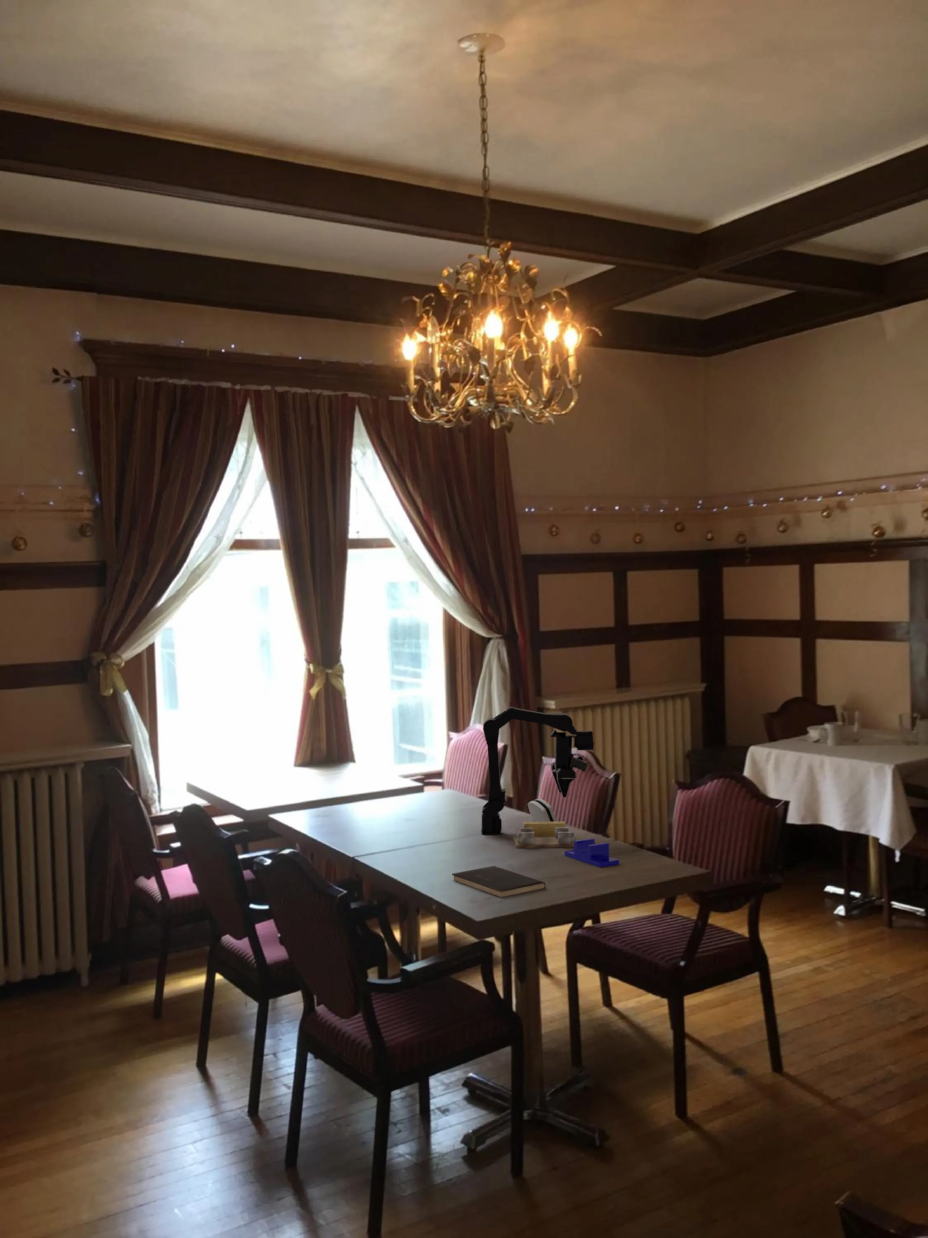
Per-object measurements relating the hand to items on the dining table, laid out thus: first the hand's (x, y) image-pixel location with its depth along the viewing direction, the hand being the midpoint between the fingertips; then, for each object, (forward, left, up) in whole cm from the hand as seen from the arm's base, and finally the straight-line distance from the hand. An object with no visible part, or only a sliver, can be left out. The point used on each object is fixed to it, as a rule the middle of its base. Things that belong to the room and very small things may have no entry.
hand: (562, 794), depth 377 cm
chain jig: (-8, -16, -13) cm, 22 cm away
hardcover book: (-27, -66, -14) cm, 72 cm away
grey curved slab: (-5, +16, -14) cm, 22 cm away
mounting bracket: (+4, -39, -14) cm, 42 cm away
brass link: (-7, -5, -14) cm, 16 cm away
